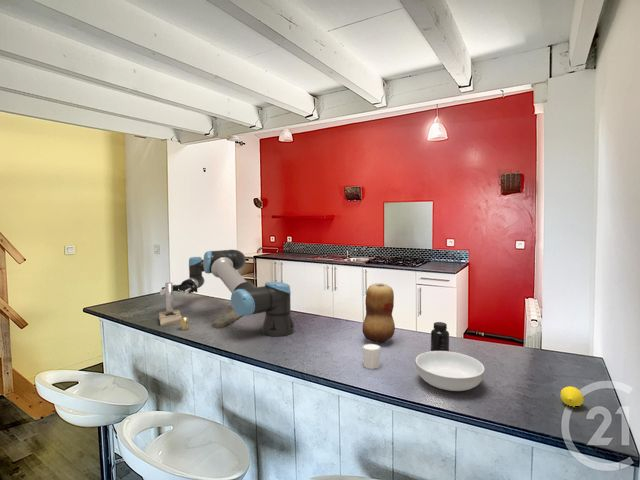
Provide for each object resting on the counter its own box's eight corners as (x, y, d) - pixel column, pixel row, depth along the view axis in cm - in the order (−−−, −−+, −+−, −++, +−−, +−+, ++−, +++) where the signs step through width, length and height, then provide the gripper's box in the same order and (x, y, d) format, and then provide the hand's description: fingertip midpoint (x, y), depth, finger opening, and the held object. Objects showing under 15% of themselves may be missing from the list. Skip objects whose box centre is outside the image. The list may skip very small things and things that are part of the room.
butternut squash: (377, 350, 146) (377, 288, 145) (356, 340, 157) (356, 283, 156) (401, 343, 154) (402, 284, 152) (380, 334, 165) (380, 280, 163)
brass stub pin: (189, 329, 175) (188, 317, 174) (181, 331, 173) (181, 318, 173) (187, 328, 178) (187, 315, 177) (180, 329, 176) (179, 316, 176)
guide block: (181, 323, 186) (181, 316, 186) (160, 325, 182) (160, 318, 181) (179, 316, 198) (178, 310, 198) (159, 318, 194) (158, 312, 194)
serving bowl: (405, 388, 114) (405, 366, 114) (426, 365, 131) (426, 346, 131) (476, 407, 102) (477, 383, 102) (489, 379, 120) (490, 358, 119)
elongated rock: (206, 330, 178) (225, 332, 176) (206, 320, 178) (225, 322, 176) (236, 309, 212) (252, 310, 211) (236, 300, 212) (252, 301, 210)
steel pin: (174, 321, 189) (172, 283, 188) (166, 322, 188) (165, 283, 186) (173, 319, 192) (172, 282, 191) (166, 320, 191) (164, 282, 190)
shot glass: (368, 360, 136) (368, 342, 136) (384, 365, 132) (384, 346, 131) (358, 366, 131) (358, 347, 130) (374, 371, 126) (374, 351, 126)
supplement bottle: (426, 352, 144) (427, 322, 143) (441, 349, 146) (441, 320, 146) (438, 358, 137) (438, 327, 137) (452, 355, 140) (453, 325, 139)
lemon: (562, 400, 107) (563, 381, 107) (584, 406, 103) (585, 387, 103) (557, 406, 102) (558, 386, 102) (581, 413, 98) (582, 393, 98)
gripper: (210, 291, 216) (196, 299, 195) (169, 291, 217) (150, 299, 196) (209, 279, 215) (195, 286, 194) (168, 278, 217) (150, 285, 196)
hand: (173, 292), depth 195 cm, fingers open, 13 cm apart
